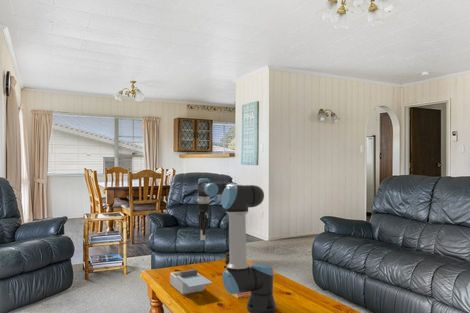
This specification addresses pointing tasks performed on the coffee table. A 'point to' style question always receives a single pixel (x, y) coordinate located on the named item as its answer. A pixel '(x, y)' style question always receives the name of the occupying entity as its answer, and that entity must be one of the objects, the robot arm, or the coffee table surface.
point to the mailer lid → (193, 278)
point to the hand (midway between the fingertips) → (203, 239)
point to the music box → (226, 260)
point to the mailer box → (183, 285)
